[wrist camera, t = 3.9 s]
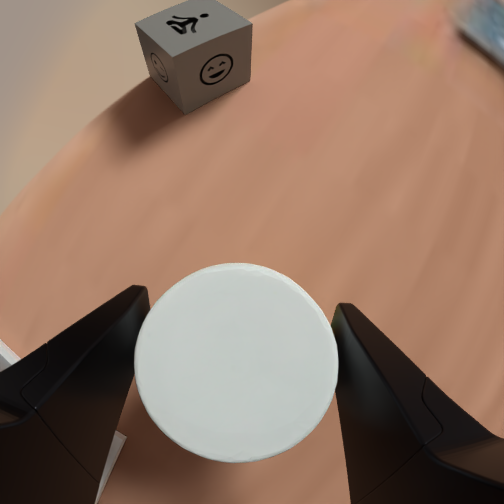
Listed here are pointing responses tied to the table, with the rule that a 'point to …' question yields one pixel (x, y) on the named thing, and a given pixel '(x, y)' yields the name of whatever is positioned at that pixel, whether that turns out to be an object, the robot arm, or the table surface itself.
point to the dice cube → (196, 51)
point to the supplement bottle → (236, 363)
